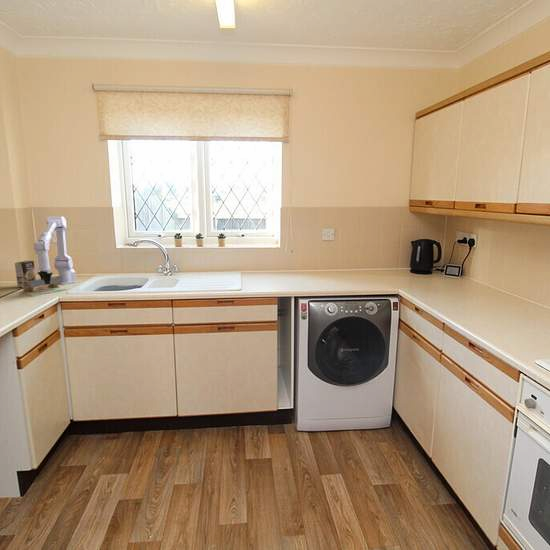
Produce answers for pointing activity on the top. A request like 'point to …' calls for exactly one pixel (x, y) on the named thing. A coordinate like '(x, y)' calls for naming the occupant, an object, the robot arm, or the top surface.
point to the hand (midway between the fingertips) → (46, 283)
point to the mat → (46, 291)
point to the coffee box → (25, 272)
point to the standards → (29, 289)
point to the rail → (41, 281)
